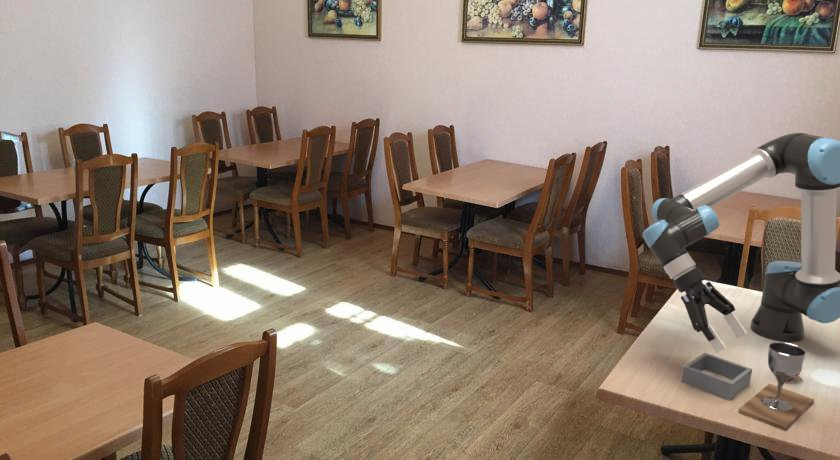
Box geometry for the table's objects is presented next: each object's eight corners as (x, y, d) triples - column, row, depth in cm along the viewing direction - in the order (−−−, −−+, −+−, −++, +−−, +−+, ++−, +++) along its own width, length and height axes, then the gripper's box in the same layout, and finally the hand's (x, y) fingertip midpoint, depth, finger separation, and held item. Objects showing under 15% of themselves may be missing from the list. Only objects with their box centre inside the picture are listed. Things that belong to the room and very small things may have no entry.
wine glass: (798, 413, 172) (810, 357, 168) (764, 409, 173) (774, 353, 169) (789, 398, 179) (799, 344, 175) (755, 394, 181) (765, 340, 177)
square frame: (702, 367, 197) (704, 352, 195) (749, 384, 188) (752, 369, 187) (680, 381, 188) (683, 366, 187) (729, 400, 179) (732, 384, 178)
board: (768, 386, 187) (769, 383, 187) (813, 402, 179) (814, 399, 179) (738, 412, 173) (738, 408, 173) (785, 430, 166) (785, 426, 165)
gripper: (694, 270, 200) (739, 335, 194) (651, 291, 183) (700, 363, 177) (715, 257, 195) (762, 323, 189) (673, 277, 178) (724, 351, 172)
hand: (732, 343), depth 183 cm, fingers open, 13 cm apart
